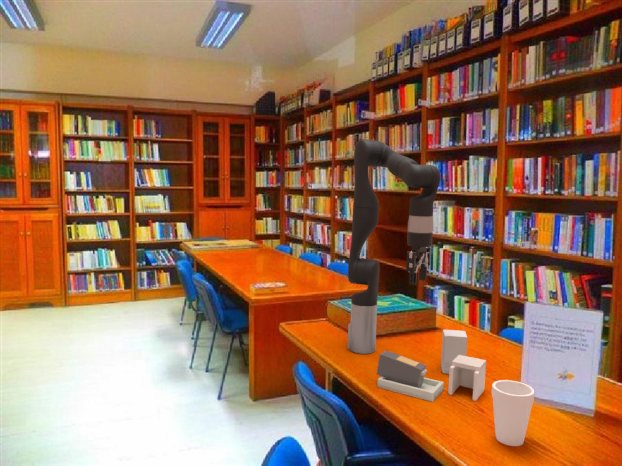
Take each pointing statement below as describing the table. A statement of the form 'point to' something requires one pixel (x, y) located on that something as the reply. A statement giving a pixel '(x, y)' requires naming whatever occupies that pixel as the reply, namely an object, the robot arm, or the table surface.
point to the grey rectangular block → (401, 369)
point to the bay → (467, 375)
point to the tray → (414, 388)
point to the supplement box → (452, 347)
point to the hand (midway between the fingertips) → (417, 282)
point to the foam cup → (511, 410)
